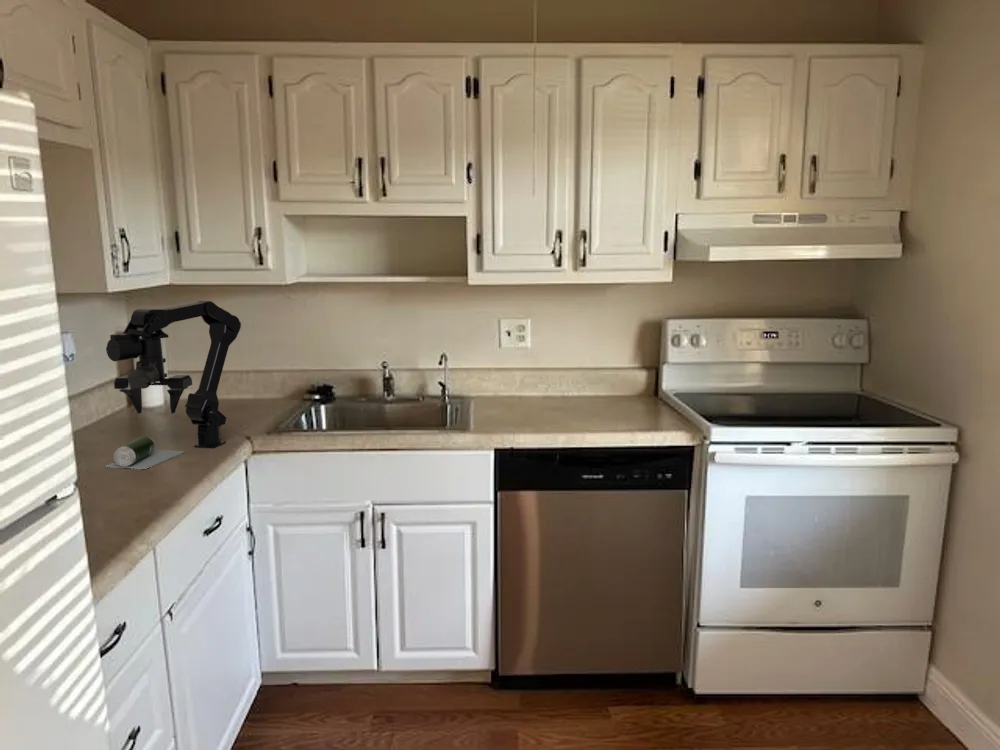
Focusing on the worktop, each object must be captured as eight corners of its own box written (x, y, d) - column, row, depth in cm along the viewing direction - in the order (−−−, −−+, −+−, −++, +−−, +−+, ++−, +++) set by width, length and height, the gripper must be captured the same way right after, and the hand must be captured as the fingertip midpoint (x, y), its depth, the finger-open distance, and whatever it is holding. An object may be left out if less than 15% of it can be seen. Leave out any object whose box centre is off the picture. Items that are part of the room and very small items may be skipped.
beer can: (156, 436, 192) (133, 448, 180) (155, 455, 192) (133, 468, 181) (136, 434, 191) (113, 446, 180) (136, 453, 192) (112, 466, 181)
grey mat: (147, 451, 198) (147, 449, 198) (184, 453, 196) (184, 451, 196) (105, 467, 182) (105, 465, 182) (146, 469, 180) (145, 467, 180)
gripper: (98, 360, 177) (104, 420, 180) (169, 360, 177) (175, 420, 179) (123, 354, 188) (129, 410, 191) (190, 354, 188) (195, 410, 190)
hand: (156, 413), depth 188 cm, fingers open, 9 cm apart
